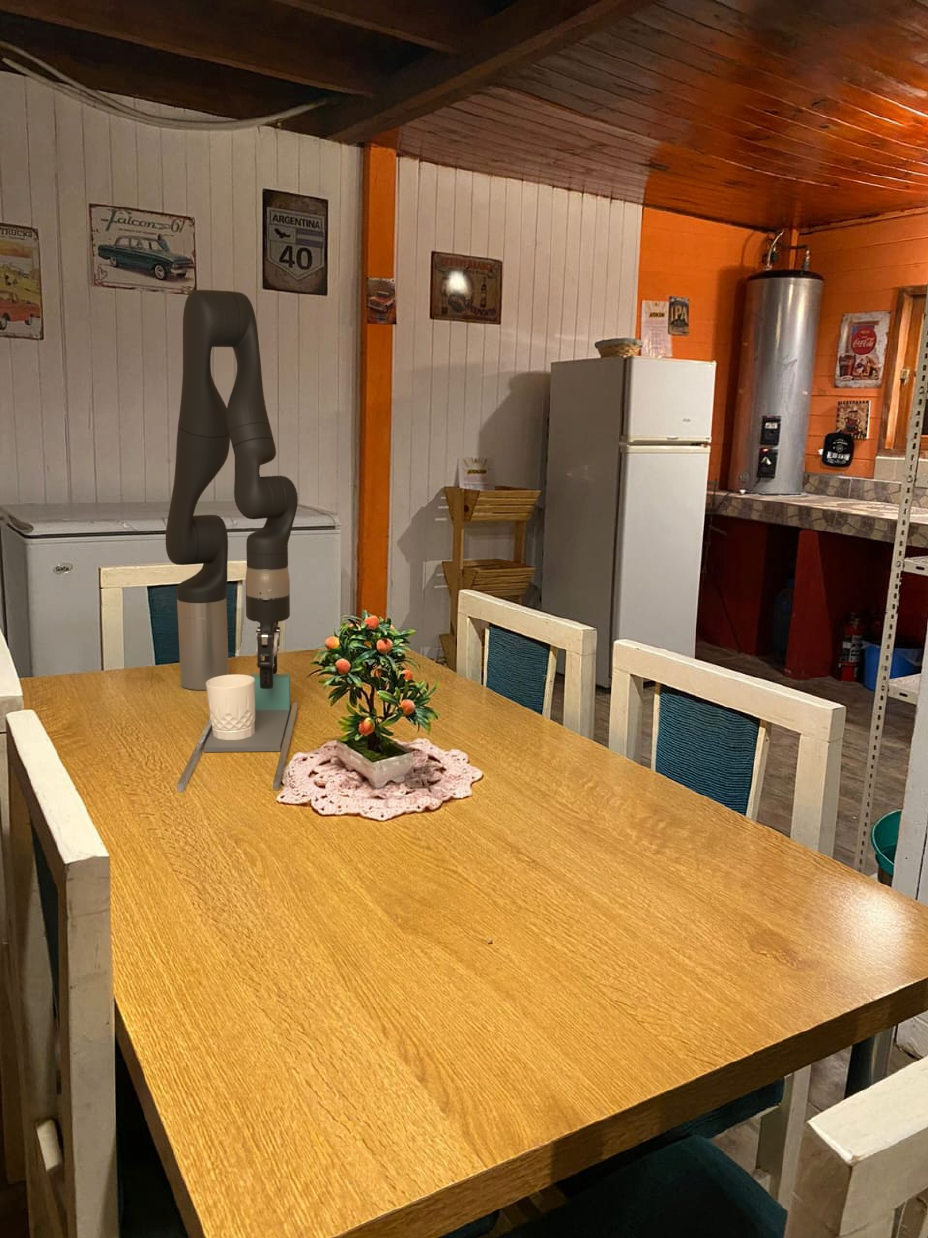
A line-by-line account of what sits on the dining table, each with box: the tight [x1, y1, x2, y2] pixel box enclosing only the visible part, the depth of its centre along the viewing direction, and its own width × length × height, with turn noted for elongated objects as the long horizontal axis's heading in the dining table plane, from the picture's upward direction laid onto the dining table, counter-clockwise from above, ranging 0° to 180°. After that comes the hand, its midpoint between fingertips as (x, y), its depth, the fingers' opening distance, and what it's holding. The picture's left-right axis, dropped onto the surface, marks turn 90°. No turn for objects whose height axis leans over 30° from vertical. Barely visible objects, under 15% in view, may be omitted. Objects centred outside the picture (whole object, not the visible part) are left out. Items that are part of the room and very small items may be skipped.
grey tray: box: [203, 673, 292, 753], centre depth 167 cm, size 22×12×7 cm, turn 5°
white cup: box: [206, 673, 255, 740], centre depth 162 cm, size 8×8×10 cm
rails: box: [176, 701, 299, 793], centre depth 160 cm, size 38×14×1 cm, turn 5°
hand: (268, 680), depth 174 cm, fingers open, 8 cm apart
